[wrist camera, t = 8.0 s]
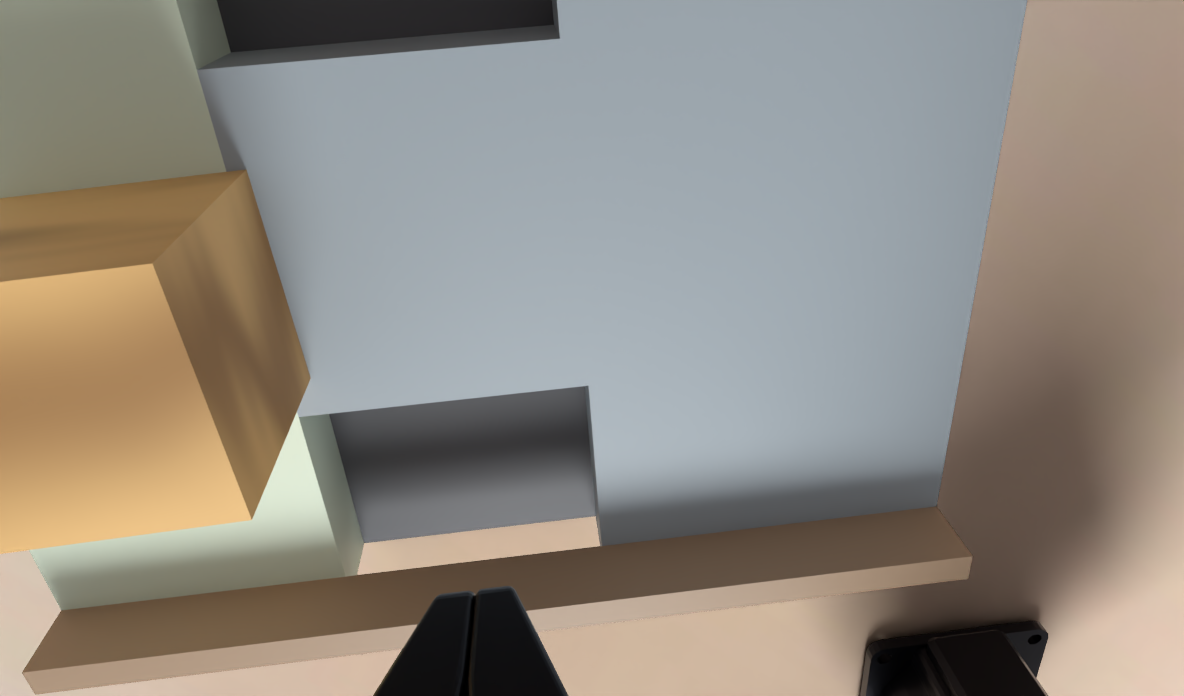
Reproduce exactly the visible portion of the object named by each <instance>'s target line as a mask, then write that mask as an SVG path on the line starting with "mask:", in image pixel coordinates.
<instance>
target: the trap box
mask: <svg viewBox="0 0 1184 696" xmlns="http://www.w3.org/2000/svg"><path fill="white" fill-rule="evenodd" d="M1026 4H1027V0H0V198H7V197H15V196H24V195H33V194H41V193H50V192H58V191H67V190H75V189H84V188H92V187H101V186H109V185H118V184H126V183H135V182H143V181H152V180H160V179H169V178H178V177H186V176H195V175H203V174H212V173H220V172H229V171H237V170H246V169H247V173H248V176H249V179H250V182H251V186H252V189H253V192H254V195H255V199H256V202H257V205H258V208H259V212H260V215H261V218H262V221H263V225H264V228H265V231H266V234H267V238H268V241H269V244H270V247H271V251H272V254H273V257H274V260H275V264H276V267H277V270H278V273H279V277H280V280H281V283H282V286H283V290H284V293H285V296H286V299H287V303H288V306H289V309H290V312H291V316H292V319H293V322H294V325H295V329H296V332H297V335H298V339H299V342H300V345H301V348H302V352H303V355H304V358H305V361H306V365H307V368H308V371H309V374H310V378H311V379H310V381H309V384H308V386H307V389H306V391H305V393H304V396H303V398H302V401H301V403H300V405H299V408H298V410H297V413H296V415H295V418H294V420H293V422H292V425H291V427H290V430H289V432H288V434H287V437H286V439H285V442H284V444H283V446H282V449H281V451H280V454H279V456H278V458H277V461H276V463H275V466H274V468H273V471H272V473H271V475H270V478H269V480H268V483H267V485H266V487H265V490H264V492H263V495H262V497H261V499H260V502H259V504H258V507H257V509H256V511H255V514H254V516H253V519H252V520H249V521H241V522H234V523H227V524H219V525H212V526H204V527H197V528H189V529H182V530H174V531H167V532H159V533H152V534H145V535H137V536H130V537H122V538H115V539H107V540H100V541H92V542H85V543H77V544H70V545H63V546H55V547H48V548H40V549H33V550H29V551H30V553H31V555H32V557H33V559H34V561H35V562H36V564H37V566H38V568H39V570H40V572H41V574H42V575H43V577H44V579H45V581H46V583H47V585H48V586H49V588H50V590H51V592H52V594H53V596H54V598H55V599H56V601H57V603H58V605H59V607H60V609H61V612H60V614H59V615H58V617H57V618H56V620H55V621H54V623H53V625H52V626H51V628H50V629H49V631H48V632H47V634H46V636H45V637H44V639H43V640H42V642H41V644H40V645H39V647H38V648H37V650H36V651H35V653H34V655H33V656H32V658H31V659H30V661H29V662H28V664H27V666H26V667H25V669H24V670H23V672H22V674H23V675H24V677H25V679H26V680H27V682H28V683H29V685H30V687H31V688H32V690H33V692H34V693H35V694H43V693H51V692H59V691H67V690H75V689H83V688H91V687H100V686H108V685H116V684H124V683H132V682H140V681H148V680H156V679H164V678H172V677H180V676H188V675H196V674H204V673H213V672H221V671H229V670H237V669H245V668H253V667H261V666H269V665H277V664H285V663H293V662H301V661H309V660H317V659H326V658H334V657H342V656H350V655H358V654H366V653H374V652H382V651H390V650H398V649H403V647H404V646H405V644H406V643H407V641H408V639H409V638H410V636H411V635H412V633H413V631H414V630H415V628H416V627H417V625H418V623H419V622H420V620H421V619H422V617H423V615H424V614H425V612H426V611H427V609H428V607H429V606H430V604H431V603H432V601H433V600H434V598H435V597H436V596H438V595H440V594H444V593H452V592H460V591H472V592H473V593H474V594H475V595H476V593H477V592H478V591H479V590H480V589H485V588H493V587H502V586H511V587H513V588H514V589H515V590H516V592H517V594H518V596H519V598H520V600H521V602H522V604H523V606H524V608H525V610H526V612H527V614H528V616H529V618H530V620H531V622H532V624H533V626H534V628H535V630H536V632H543V631H551V630H560V629H568V628H576V627H584V626H592V625H600V624H608V623H616V622H624V621H632V620H640V619H648V618H656V617H664V616H673V615H681V614H689V613H697V612H705V611H713V610H721V609H729V608H737V607H745V606H753V605H761V604H769V603H777V602H786V601H794V600H802V599H810V598H818V597H826V596H834V595H842V594H850V593H858V592H866V591H874V590H882V589H890V588H899V587H907V586H915V585H923V584H931V583H939V582H947V581H955V580H963V579H968V577H969V572H970V568H971V563H972V558H973V556H972V554H971V553H970V552H969V550H968V549H967V547H966V546H965V545H964V543H963V542H962V541H961V539H960V538H959V536H958V535H957V534H956V532H955V531H954V530H953V528H952V527H951V525H950V524H949V523H948V521H947V520H946V519H945V517H944V516H943V514H942V513H941V512H940V510H939V509H938V508H937V502H938V496H939V490H940V485H941V479H942V474H943V468H944V463H945V457H946V451H947V446H948V440H949V435H950V429H951V423H952V418H953V412H954V407H955V401H956V396H957V390H958V384H959V379H960V373H961V368H962V362H963V356H964V351H965V345H966V340H967V334H968V328H969V323H970V317H971V312H972V306H973V301H974V295H975V289H976V284H977V278H978V273H979V267H980V261H981V256H982V250H983V245H984V239H985V233H986V228H987V222H988V217H989V211H990V206H991V200H992V194H993V189H994V183H995V178H996V172H997V166H998V161H999V155H1000V150H1001V144H1002V139H1003V133H1004V127H1005V122H1006V116H1007V111H1008V105H1009V99H1010V94H1011V88H1012V83H1013V77H1014V71H1015V66H1016V60H1017V55H1018V49H1019V44H1020V38H1021V32H1022V27H1023V21H1024V16H1025V10H1026ZM591 516H596V521H597V528H598V534H599V541H600V546H599V547H591V548H582V549H574V550H565V551H557V552H549V553H540V554H532V555H523V556H515V557H507V558H498V559H490V560H481V561H473V562H465V563H456V564H448V565H439V566H431V567H422V568H414V569H406V570H397V571H389V572H380V573H372V574H364V575H357V572H358V568H359V563H360V559H361V554H362V550H363V545H364V543H369V542H378V541H386V540H395V539H403V538H412V537H420V536H429V535H437V534H446V533H455V532H463V531H472V530H480V529H489V528H497V527H506V526H514V525H523V524H532V523H540V522H549V521H557V520H566V519H574V518H583V517H591Z"/></svg>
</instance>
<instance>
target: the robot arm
mask: <svg viewBox="0 0 1184 696" xmlns="http://www.w3.org/2000/svg"><path fill="white" fill-rule="evenodd" d="M1047 640H1048V633H1047V632H1046V630H1045V629H1044V628H1043V626H1042V625H1041V624H1040V623H1039V622H1037V621H1026V622H1018V623H1010V624H1002V625H995V626H987V627H979V628H971V629H963V630H955V631H947V632H939V633H932V634H924V635H916V636H908V637H900V638H892V639H884V640H879V641H876V642H874V643H872V644H871V645H870V646H869V647H868V649H867V651H866V657H865V664H864V672H863V679H862V686H861V693H860V696H1048V695H1047V693H1046V692H1045V690H1044V689H1043V687H1042V686H1041V685H1040V683H1039V682H1038V680H1037V679H1036V677H1037V674H1038V670H1039V667H1040V663H1041V660H1042V657H1043V653H1044V650H1045V646H1046V643H1047ZM373 696H568V694H567V692H566V690H565V688H564V686H563V684H562V682H561V680H560V678H559V676H558V674H557V672H556V670H555V668H554V666H553V664H552V662H551V660H550V658H549V656H548V654H547V652H546V650H545V648H544V646H543V644H542V642H541V640H540V638H539V636H538V634H537V632H536V630H535V628H534V626H533V624H532V622H531V620H530V618H529V616H528V614H527V612H526V610H525V608H524V606H523V604H522V602H521V600H520V598H519V596H518V594H517V592H516V590H515V589H514V588H513V587H511V586H502V587H493V588H485V589H480V590H479V591H478V592H477V593H476V595H475V594H474V593H473V592H472V591H460V592H452V593H444V594H440V595H438V596H436V597H435V598H434V600H433V601H432V603H431V604H430V606H429V607H428V609H427V611H426V612H425V614H424V615H423V617H422V619H421V620H420V622H419V623H418V625H417V627H416V628H415V630H414V631H413V633H412V635H411V636H410V638H409V639H408V641H407V643H406V644H405V646H404V647H403V649H402V650H401V652H400V654H399V655H398V657H397V658H396V660H395V662H394V663H393V665H392V666H391V668H390V670H389V671H388V673H387V674H386V676H385V678H384V679H383V681H382V682H381V684H380V686H379V687H378V689H377V690H376V692H375V694H374V695H373Z"/></svg>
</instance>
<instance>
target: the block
mask: <svg viewBox="0 0 1184 696" xmlns="http://www.w3.org/2000/svg"><path fill="white" fill-rule="evenodd" d="M310 379H311V378H310V374H309V371H308V368H307V365H306V361H305V358H304V355H303V352H302V348H301V345H300V342H299V339H298V335H297V332H296V329H295V325H294V322H293V319H292V316H291V312H290V309H289V306H288V303H287V299H286V296H285V293H284V290H283V286H282V283H281V280H280V277H279V273H278V270H277V267H276V264H275V260H274V257H273V254H272V251H271V247H270V244H269V241H268V238H267V234H266V231H265V228H264V225H263V221H262V218H261V215H260V212H259V208H258V205H257V202H256V199H255V195H254V192H253V189H252V186H251V182H250V179H249V176H248V173H247V169H246V170H237V171H229V172H220V173H212V174H203V175H195V176H186V177H178V178H169V179H160V180H152V181H143V182H135V183H126V184H118V185H109V186H101V187H92V188H84V189H75V190H67V191H58V192H50V193H41V194H33V195H24V196H15V197H7V198H0V554H3V553H10V552H18V551H25V550H33V549H40V548H48V547H55V546H63V545H70V544H77V543H85V542H92V541H100V540H107V539H115V538H122V537H130V536H137V535H145V534H152V533H159V532H167V531H174V530H182V529H189V528H197V527H204V526H212V525H219V524H227V523H234V522H241V521H249V520H252V519H253V516H254V514H255V511H256V509H257V507H258V504H259V502H260V499H261V497H262V495H263V492H264V490H265V487H266V485H267V483H268V480H269V478H270V475H271V473H272V471H273V468H274V466H275V463H276V461H277V458H278V456H279V454H280V451H281V449H282V446H283V444H284V442H285V439H286V437H287V434H288V432H289V430H290V427H291V425H292V422H293V420H294V418H295V415H296V413H297V410H298V408H299V405H300V403H301V401H302V398H303V396H304V393H305V391H306V389H307V386H308V384H309V381H310Z"/></svg>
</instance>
